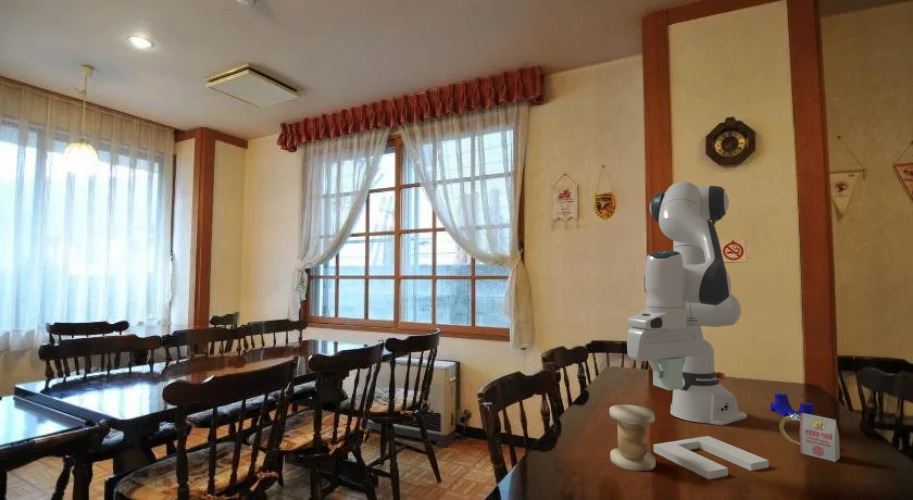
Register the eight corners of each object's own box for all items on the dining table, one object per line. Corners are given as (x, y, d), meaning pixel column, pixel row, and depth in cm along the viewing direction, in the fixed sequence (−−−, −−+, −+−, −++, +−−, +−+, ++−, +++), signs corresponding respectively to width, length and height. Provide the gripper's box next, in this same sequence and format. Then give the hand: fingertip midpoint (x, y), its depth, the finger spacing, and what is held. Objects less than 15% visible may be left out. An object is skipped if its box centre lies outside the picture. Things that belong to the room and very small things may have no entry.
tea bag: (805, 451, 111) (803, 411, 111) (840, 460, 105) (838, 418, 106) (800, 455, 109) (798, 414, 109) (835, 464, 103) (833, 421, 104)
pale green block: (666, 383, 108) (665, 354, 108) (682, 388, 103) (681, 358, 103) (653, 384, 106) (652, 355, 107) (669, 390, 102) (668, 359, 102)
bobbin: (634, 451, 111) (633, 403, 111) (665, 468, 101) (664, 415, 102) (601, 456, 108) (600, 406, 108) (629, 474, 98) (628, 419, 99)
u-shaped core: (708, 443, 116) (708, 435, 116) (768, 469, 101) (768, 460, 101) (653, 452, 110) (653, 444, 110) (708, 481, 95) (708, 471, 95)
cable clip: (770, 412, 143) (770, 393, 143) (784, 412, 143) (783, 393, 143) (799, 425, 131) (799, 404, 131) (814, 425, 131) (814, 404, 131)
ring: (815, 448, 113) (813, 416, 113) (808, 450, 111) (807, 418, 112) (784, 439, 119) (783, 409, 119) (778, 441, 117) (776, 411, 118)
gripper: (688, 315, 112) (690, 370, 111) (622, 319, 105) (623, 377, 104) (710, 317, 106) (712, 375, 105) (641, 322, 99) (642, 384, 98)
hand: (667, 376), depth 105 cm, fingers closed on pale green block, 4 cm apart
